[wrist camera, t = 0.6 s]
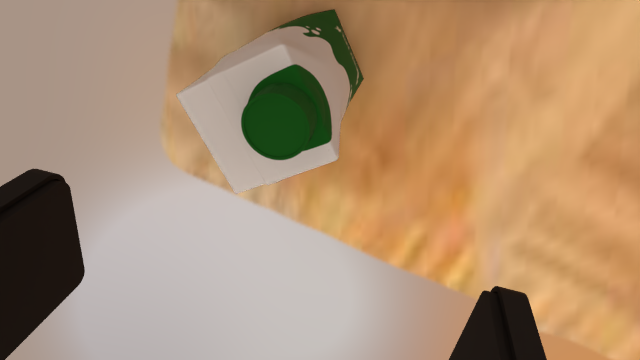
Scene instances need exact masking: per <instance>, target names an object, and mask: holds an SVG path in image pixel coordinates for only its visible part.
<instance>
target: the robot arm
mask: <svg viewBox="0 0 640 360" xmlns="http://www.w3.org/2000/svg"><path fill="white" fill-rule="evenodd" d="M83 276H84V264H83V258H82V252H81V247H80V241H79V236H78V230H77V224H76V219H75V213H74V207H73V202H72V196H71V190H70V187H69V185H68V184H67V183H66V182H65V180H64V178H63V177H62V176H61V175H59V174H55V173H51V172H47V171H43V170H39V169H31V170H28V171H26V172H25V173H23V174H21V175H19V176H18V177H16V178H14V179H13V180H11V181H9V182H8V183H6V184H4V185H2V186H1V187H0V360H5V359H6V358H7V357H8V356H9V355H10V354H11V353H12V352H13V351H14V350H15V349H16V348H17V347H18V346H19V345H20V344H21V343H22V342H23V341H24V340H25V339H26V338H27V337H28V336H29V335H30V334H31V333H32V332H33V331H34V330H35V329H36V328H37V327H38V326H39V325H40V324H41V323H42V322H43V320H44V319H46V318H47V317H48V316H49V315H50V313H52V312H53V311H54V309H56V307H58V306H59V304H60V303H62V301H63V300H64V299H65V298H66V297H67V296H68V295H69V294H70V293H71V292H72V291H73V290H74V289H75V288H76V287H77V286H78V285H79V284H80V283H81V281H82V279H83ZM449 360H547V359H546V356H545V353H544V349H543V346H542V343H541V340H540V336H539V333H538V330H537V326H536V323H535V320H534V316H533V313H532V310H531V307H530V303H529V300H528V298H527V295H526V294H524V293H522V292H518V291H514V290H510V289H506V288H502V287H498V286H495V287H494V288H493V289H492V290H491V292H489V291H483V292H482V293H481V295H480V297H479V299H478V301H477V303H476V305H475V307H474V309H473V311H472V313H471V315H470V317H469V320H468V322H467V324H466V326H465V328H464V330H463V332H462V334H461V336H460V338H459V340H458V342H457V344H456V346H455V348H454V350H453V352H452V354H451V356H450V358H449Z"/></svg>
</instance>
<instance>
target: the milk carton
mask: <svg viewBox="0 0 640 360" xmlns="http://www.w3.org/2000/svg"><path fill="white" fill-rule="evenodd" d="M362 80H363V76H362V74H361V71H360V69H359V67H358V64H357V62H356V59H355V57H354V55H353V52H352V50H351V47H350V45H349V43H348V40H347V38H346V35H345V33H344V31H343V28H342V26H341V24H340V21H339V19H338V16H337V14H336V12H335V9H333V10H329V11H324V12H320V13H315V14H311V15H307V16H304V17H301V18H298V19H296V20H293V21H291V22H288V23H286V24H283V25H281V26H279V27H277V28H275V29H272V30H270V31H269V32H267V33H265V34H263V35H262V36H260V37H258V38H256V39H255V40H253V41H251V42H249V43H248V44H246V45H244V46H243V47H241V48H239V49H238V50H236V51H233V52H231V53H229V54H227V55H225V56H224V57H223V58H222V59H221V60H220V61H219V62H218V63H217V64H216V65H215V67H214V68H212V69H211V70H210V71H208V72H207V73H206V74H204V75H203V76H202V77H200V78H199V79H198V80H196V81H195V82H193V83H192V84H191V85H189V86H188V87H186V88H185V89H183V90H182V91H180V92H179V93H178V94H176V96H177V98H178V99H179V101H180V103H181V104H182V106H183V108H184V109H185V111H186V113H187V114H188V116H189V118H190V119H191V121H192V123H193V124H194V126H195V128H196V129H197V131H198V133H199V134H200V136H201V138H202V139H203V141H204V143H205V144H206V146H207V148H208V149H209V151H210V153H211V154H212V156H213V158H214V159H215V161H216V163H217V164H218V166H219V167H220V169H221V171H222V172H223V174H224V176H225V177H226V179H227V181H228V182H229V184H230V186H231V187H232V189H233V191H234V192H235V194H238V193H241V192H244V191H247V190H249V189H252V188H255V187H258V186H261V185H264V184H266V185H270V184H273V183H276V182H279V181H281V180H283V179H285V178H288V177H291V176H294V175H297V174H300V173H303V172H305V171H308V170H311V169H314V168H317V167H319V166H322V165H325V164H328V163H331V162H333V161H336V160H337V159H338V158H339V142H340V124H341V121H342V118H343V116H344V114H345V112H346V109H347V107H348V105H349V102H350V101H351V99H352V97H353V96H354V94H355V92H356V91H357V89H358V87H359V85H360V84H361V82H362Z"/></svg>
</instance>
